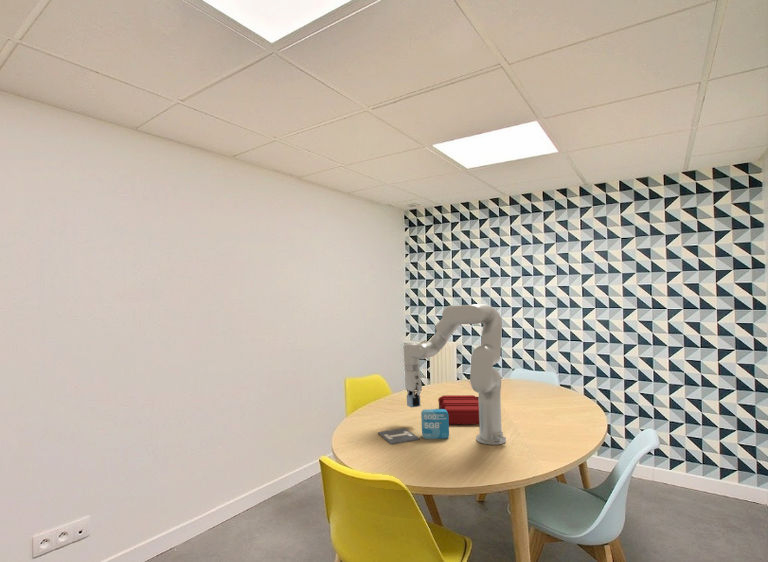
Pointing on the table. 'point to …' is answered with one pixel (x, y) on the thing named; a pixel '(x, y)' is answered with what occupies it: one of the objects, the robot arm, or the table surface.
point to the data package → (435, 423)
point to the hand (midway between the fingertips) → (413, 404)
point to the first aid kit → (460, 408)
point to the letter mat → (398, 436)
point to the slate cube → (411, 401)
